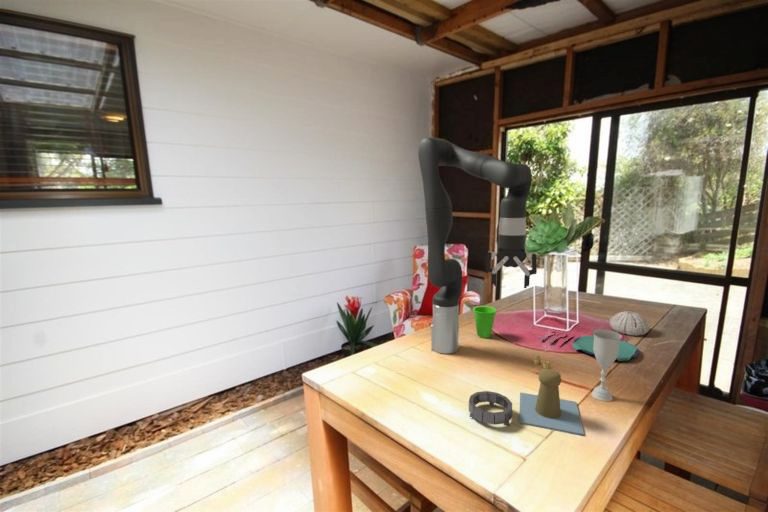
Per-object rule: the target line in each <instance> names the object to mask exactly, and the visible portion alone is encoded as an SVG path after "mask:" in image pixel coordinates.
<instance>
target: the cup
mask: <svg viewBox="0 0 768 512" xmlns="http://www.w3.org/2000/svg"><path fill="white" fill-rule="evenodd" d="M472 310H473V313H474V321H475V328H476V333H477V334H476V335H477V337H479V338H480V339H481V338H482V339H489V338H490V337H491V336H492V333H493V328H494V322H495V318H496V317H495V316H496V313H497V311H498V310H497V308H496V307H493V306H489V305H488V306H487V305H478V306H474V307H473V308H472Z"/></svg>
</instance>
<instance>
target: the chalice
mask: <svg viewBox="0 0 768 512" xmlns="http://www.w3.org/2000/svg"><path fill="white" fill-rule="evenodd" d="M592 336H594V345H593V350H594V354H595V356H594V357H595V358H596V361H597V364H598V366H600V367H601V371H600V375H601V377H600V378H599V381H600V385H596V386H595V387H594V389H593V390H592V392H591V393H590V394H591V396H592V397H593V398H594V399H596V400H599V401H601V402H612V401H613V399H614V398H613V396H612V393H611V391H610V389H609V388H608V387H606V385H605V384H606V382H607V381H608V380H607V379H606V376H607V375H608V373H607V368H611V366H612V365H613V364H614V362H615V361H616V360H617V359H616V358H617V356H618V353H619V342H620V341H622V338H623V335H622V333H620V332H617V331H615V330H610V329H603V328H602V329H600V328H598V329H594V330H593V331H592Z"/></svg>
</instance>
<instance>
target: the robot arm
mask: <svg viewBox="0 0 768 512" xmlns="http://www.w3.org/2000/svg"><path fill="white" fill-rule="evenodd" d="M417 156H418V162H419V163H418V164H419V167H420V168H419V169H420V174H421V179H422V186H423V196H424V210H425V223H426V233H427V234H426V235H427V275H428V279H429V281H430V283H431V285H432V286H434V287H436V288H439V290H438V291H437V292H436V293H435V294H434V295H433V296H432V324H431V327H430V328H431V333H430V334H431V340H430V341H431V343H430V344H431V345H430V346H431V347H430V348H431V349H430V350H432V351H435V352H436V353H440V354H445V355H446V354H448V355H449V354H454V353H456V352H458V350H459V330H460V329H459V328H460V327H459V319H460V318H459V312H460V310H459V309H460V307H459V303H460V299H461V296H462V287H463V270H462V266H461V264H460V262H459V261H458V260H457V259H455V258H446V254H445V249H446V242H447V240H448V237H449V234H450V232H451V229H452V227H453V220H454V218H453V217H454V216H453V208H452V207H453V206H452V201H451V198H450V196H449V194H448V192H447V190H446V188H445V187H444V185H443V181H441V180H442V179H441V177H440V171H439V170H440V169H439V168H440V167H441V166H443V167H444V166H445V167H455V168H458V169H461V170H463V171H464V172H466V173H467V174H469V175H471V176H474V177H476V178H480V179H483V180H485V181H486V180H487V181H488V182H490V183H492V184H494V185H496V186H497V187H501V188H506V189H508V191H507V195H506V196H505V197H503V198H502V199H501V202H500V207H499V208H500V209H499V210H500V214H499V223H498V224H499V225H498V241H497V242H498V243H497V244H498V245H497V248H498V249H497V252H496V251H495V252H493V251H491V250H489V251H487V253H486V263H485V271H486V272H487V273H491V284H492V285H493V286H494V287H497V286H498V283H497V282H498V271H499V270H501V268H502V267H504V268H518V267H519V269H520V270H521V271H522V272H523V273H524V279H523V280H524V282H523V288H524V289H527V287H530V277H531V276H532V275H536V274H537V272H538V270H537V269H538V266H537V262H538V261H537V253H536V252H531V253H527V252H526V235H527V233H526V232H527V222H526V220H527V219H526V214H527V201H528V197H529V195H530V190H531V187H532V182H533V174H532V171H531V168H530V166H528V165H527V164H525V163H520V162H518V163H516V162H508V161H504V160H501V159H499V158H498V157H495V156H491V155H488V154H485V153H482V152H481V153H480V152H477V151H471V150H468V149H464V148H462V147H459V146H458V145H457V144H455V143H453V142H450V141H448V140H446V139H445V138H437V137H424V138H423V139H422V140H421V142H420V143H419V146H418V152H417ZM495 257H496V258H497V259H498V261H499V262H497V264H496V265H495V267H492V265H491V264H492V260H494V258H495ZM527 258H528V260H529V261H530V262H531V269H529V268H528V267H527V265H526V264H525V262H524V261H525V260H526V259H527Z"/></svg>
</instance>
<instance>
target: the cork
mask: <svg viewBox="0 0 768 512" xmlns="http://www.w3.org/2000/svg"><path fill="white" fill-rule="evenodd" d="M538 381H539V382H540V384H539V388H538V394H537V395H538V397H537V402H536V407H535V410H536V412H537V413H538V414H539V415H541V416H543V417H546V418H552V419H555V418H558V417H560V416H561V409H560V399H561V398H560V389H559V388H560V387H559V386H560V385H561V383H562V377H561V374H560V373H559V372H558V371H557V370H555V369H553V368H552V369H551V368H543V369H541V370H540V371H539V372H538Z"/></svg>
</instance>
